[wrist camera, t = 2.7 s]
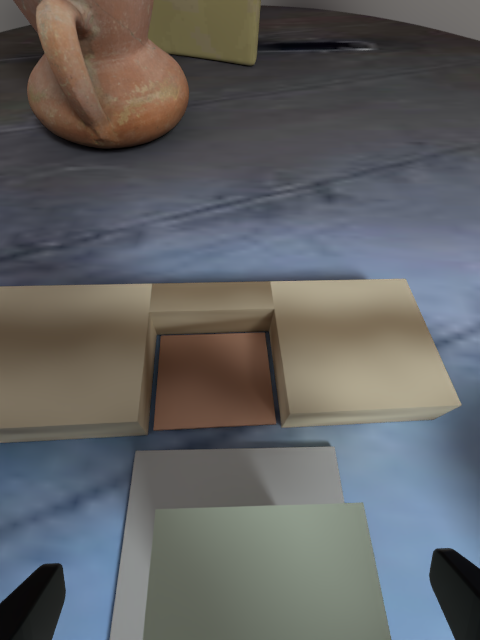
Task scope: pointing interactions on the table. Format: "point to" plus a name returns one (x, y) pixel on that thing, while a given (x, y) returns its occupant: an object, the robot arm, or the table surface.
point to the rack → (214, 357)
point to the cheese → (207, 29)
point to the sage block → (264, 574)
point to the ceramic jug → (102, 73)
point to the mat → (209, 502)
